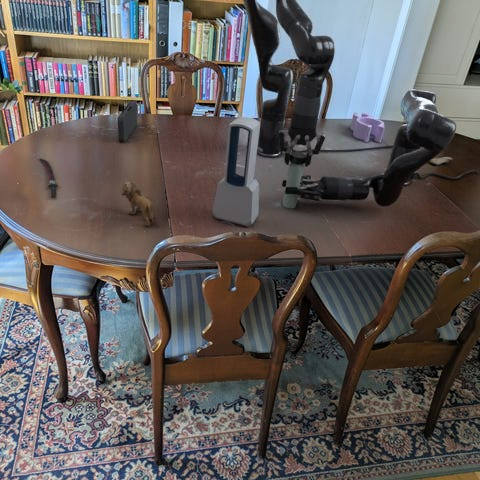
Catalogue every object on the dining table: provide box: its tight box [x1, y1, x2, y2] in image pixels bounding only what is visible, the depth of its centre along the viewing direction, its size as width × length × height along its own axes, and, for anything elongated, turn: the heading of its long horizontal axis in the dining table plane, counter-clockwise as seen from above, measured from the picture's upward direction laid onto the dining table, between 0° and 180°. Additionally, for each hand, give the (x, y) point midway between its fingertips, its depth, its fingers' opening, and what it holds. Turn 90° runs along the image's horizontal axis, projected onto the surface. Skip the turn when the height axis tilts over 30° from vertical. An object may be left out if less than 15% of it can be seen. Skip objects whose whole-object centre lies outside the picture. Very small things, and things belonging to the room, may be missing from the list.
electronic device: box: [211, 116, 261, 227], centre depth 132 cm, size 12×8×30 cm, turn 71°
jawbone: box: [428, 156, 453, 166], centre depth 197 cm, size 9×20×2 cm, turn 50°
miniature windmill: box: [285, 59, 301, 122], centre depth 208 cm, size 9×8×30 cm
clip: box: [349, 112, 386, 143], centre depth 214 cm, size 20×12×7 cm, turn 11°
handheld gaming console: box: [117, 100, 138, 142], centre depth 188 cm, size 23×3×10 cm, turn 178°
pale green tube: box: [282, 161, 305, 209], centre depth 146 cm, size 4×4×16 cm
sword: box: [40, 158, 59, 198], centre depth 151 cm, size 31×3×1 cm, turn 26°
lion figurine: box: [119, 181, 159, 227], centre depth 134 cm, size 15×5×9 cm, turn 50°
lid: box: [289, 151, 306, 165], centre depth 142 cm, size 5×5×2 cm
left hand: (296, 164), depth 143 cm, fingers open, 5 cm apart
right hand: (284, 186), depth 147 cm, fingers closed on pale green tube, 4 cm apart
